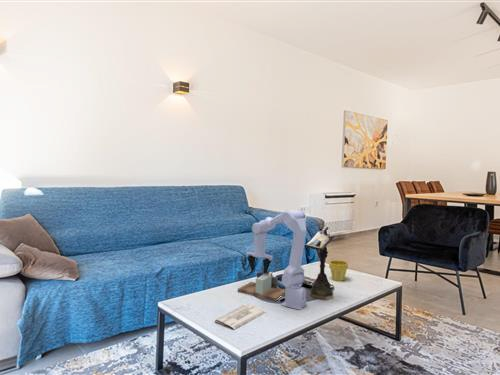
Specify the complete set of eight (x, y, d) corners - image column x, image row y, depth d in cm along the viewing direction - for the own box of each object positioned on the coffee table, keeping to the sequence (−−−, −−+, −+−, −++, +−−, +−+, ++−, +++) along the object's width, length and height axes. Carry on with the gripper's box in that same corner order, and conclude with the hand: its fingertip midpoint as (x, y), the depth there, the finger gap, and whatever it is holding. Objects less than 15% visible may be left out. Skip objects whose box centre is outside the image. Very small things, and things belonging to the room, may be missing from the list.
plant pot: (325, 277, 208) (325, 260, 207) (341, 275, 211) (341, 259, 210) (334, 282, 198) (335, 265, 198) (350, 281, 201) (351, 264, 201)
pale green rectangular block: (271, 288, 183) (271, 275, 182) (262, 294, 175) (262, 280, 175) (264, 287, 185) (264, 273, 184) (255, 292, 177) (255, 278, 177)
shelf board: (288, 293, 182) (288, 279, 181) (276, 301, 171) (276, 286, 170) (251, 284, 193) (251, 271, 193) (237, 291, 182) (238, 278, 182)
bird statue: (316, 305, 167) (319, 230, 164) (297, 296, 178) (299, 226, 175) (340, 298, 176) (343, 227, 174) (321, 289, 187) (324, 223, 184)
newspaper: (244, 306, 166) (245, 301, 165) (265, 316, 158) (266, 311, 158) (209, 322, 148) (210, 317, 147) (232, 335, 140) (232, 329, 140)
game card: (257, 273, 192) (272, 271, 195) (253, 273, 196) (268, 271, 200) (258, 286, 190) (274, 284, 194) (255, 286, 195) (270, 284, 198)
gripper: (275, 246, 184) (275, 272, 185) (251, 242, 192) (251, 267, 193) (269, 248, 178) (268, 275, 179) (244, 244, 186) (244, 270, 187)
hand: (259, 271), depth 185 cm, fingers open, 7 cm apart
